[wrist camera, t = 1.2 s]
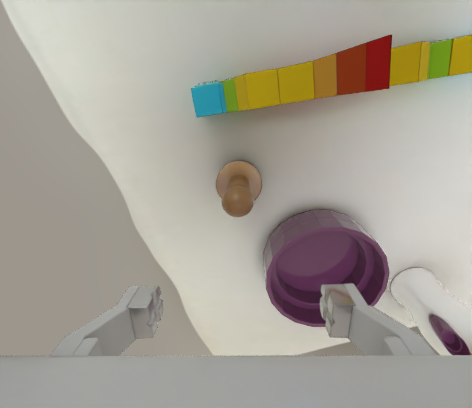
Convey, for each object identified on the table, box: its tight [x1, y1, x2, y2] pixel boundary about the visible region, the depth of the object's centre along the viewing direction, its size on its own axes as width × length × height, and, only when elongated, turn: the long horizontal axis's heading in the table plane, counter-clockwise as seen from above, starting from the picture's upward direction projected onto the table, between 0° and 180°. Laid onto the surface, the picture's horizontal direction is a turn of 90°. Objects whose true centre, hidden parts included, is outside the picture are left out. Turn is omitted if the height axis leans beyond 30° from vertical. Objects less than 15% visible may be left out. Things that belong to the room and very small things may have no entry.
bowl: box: [263, 210, 389, 327], centre depth 33 cm, size 14×14×6 cm
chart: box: [191, 35, 472, 117], centre depth 20 cm, size 30×3×15 cm, turn 99°
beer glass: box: [390, 267, 472, 355], centre depth 30 cm, size 7×7×15 cm
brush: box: [216, 161, 262, 217], centre depth 27 cm, size 5×5×9 cm
